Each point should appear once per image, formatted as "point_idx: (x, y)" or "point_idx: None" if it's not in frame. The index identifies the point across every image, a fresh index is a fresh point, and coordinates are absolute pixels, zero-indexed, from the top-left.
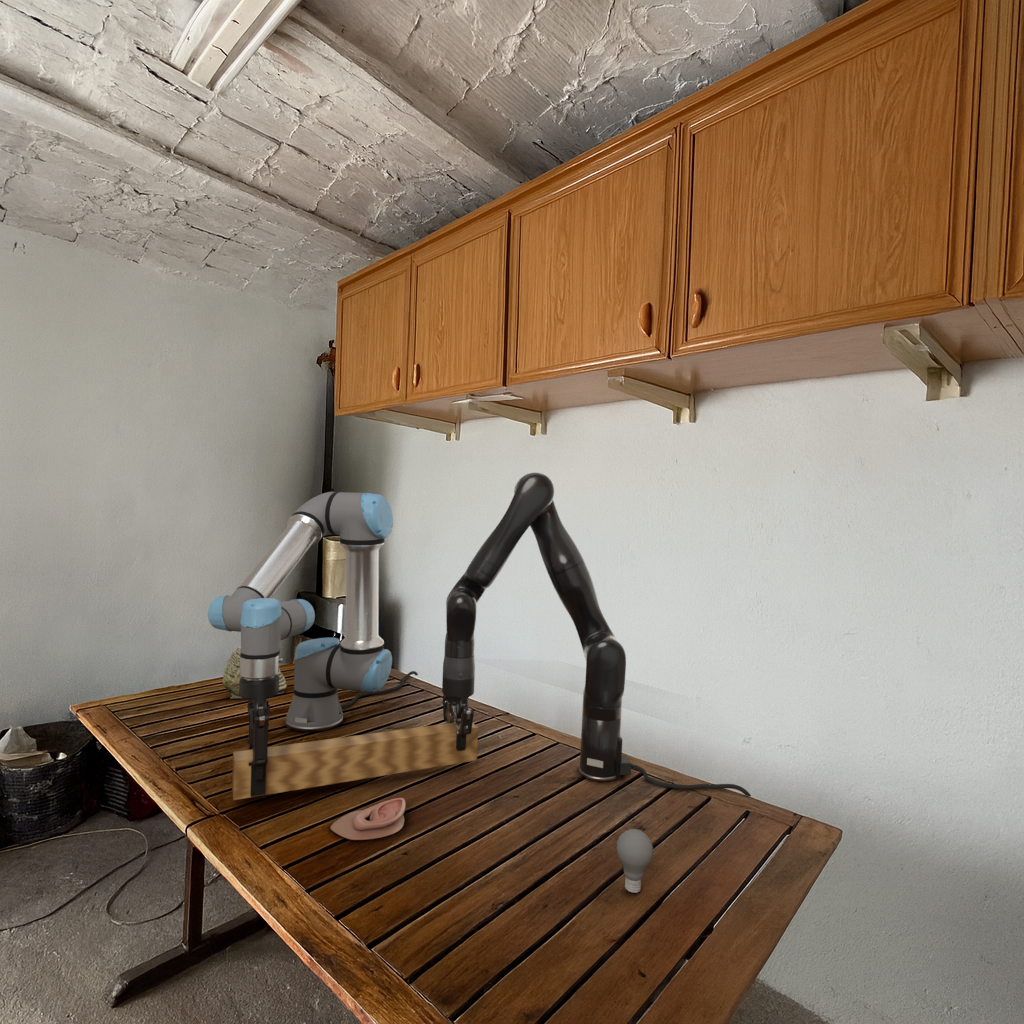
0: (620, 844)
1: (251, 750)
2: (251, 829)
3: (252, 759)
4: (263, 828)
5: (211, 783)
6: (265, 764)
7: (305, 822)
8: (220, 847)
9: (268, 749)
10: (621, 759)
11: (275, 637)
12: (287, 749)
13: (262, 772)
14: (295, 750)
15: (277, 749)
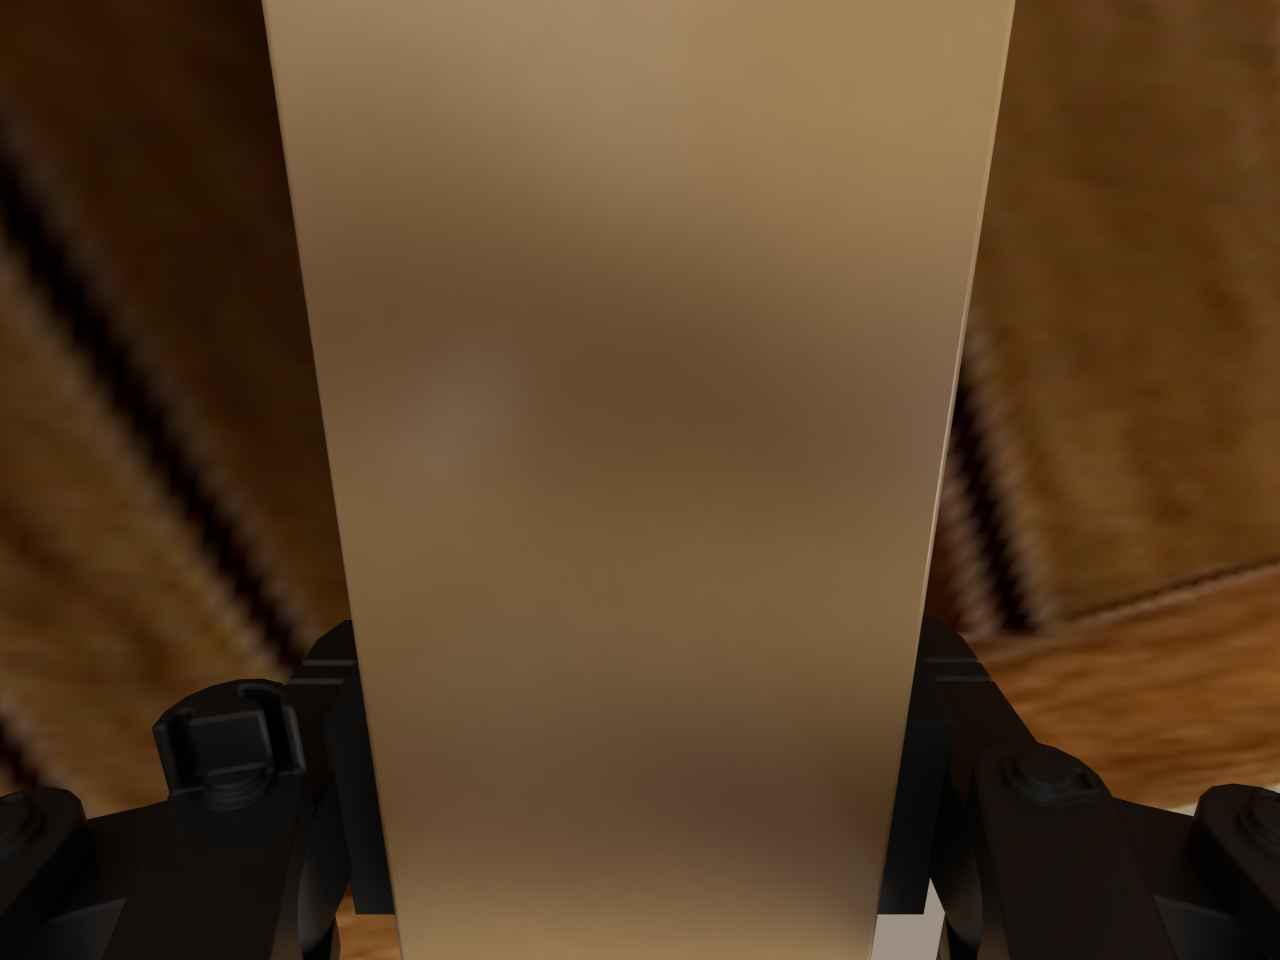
0: None
1: (453, 947)
2: (1068, 561)
3: (868, 952)
4: (1107, 477)
5: (141, 764)
6: (939, 705)
7: (1227, 104)
8: (1198, 754)
9: (505, 693)
10: None
11: None
12: (663, 288)
13: (996, 696)
14: (825, 70)
15: (571, 521)
